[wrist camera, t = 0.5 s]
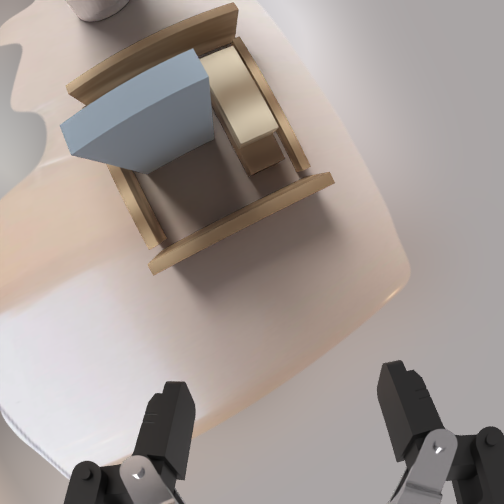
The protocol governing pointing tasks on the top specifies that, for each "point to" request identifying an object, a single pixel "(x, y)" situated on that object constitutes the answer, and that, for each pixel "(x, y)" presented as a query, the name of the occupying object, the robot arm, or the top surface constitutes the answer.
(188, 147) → the panel
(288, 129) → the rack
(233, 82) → the offcut stack
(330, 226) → the top surface
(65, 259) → the top surface
